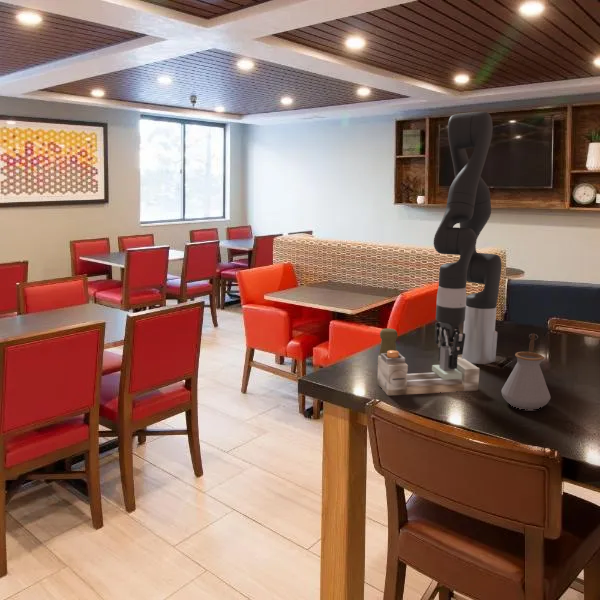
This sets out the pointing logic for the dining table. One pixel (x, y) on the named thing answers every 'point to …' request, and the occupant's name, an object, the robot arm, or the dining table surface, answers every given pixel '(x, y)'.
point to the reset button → (392, 354)
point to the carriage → (445, 366)
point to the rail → (422, 378)
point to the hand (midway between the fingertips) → (447, 364)
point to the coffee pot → (527, 381)
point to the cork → (388, 340)
